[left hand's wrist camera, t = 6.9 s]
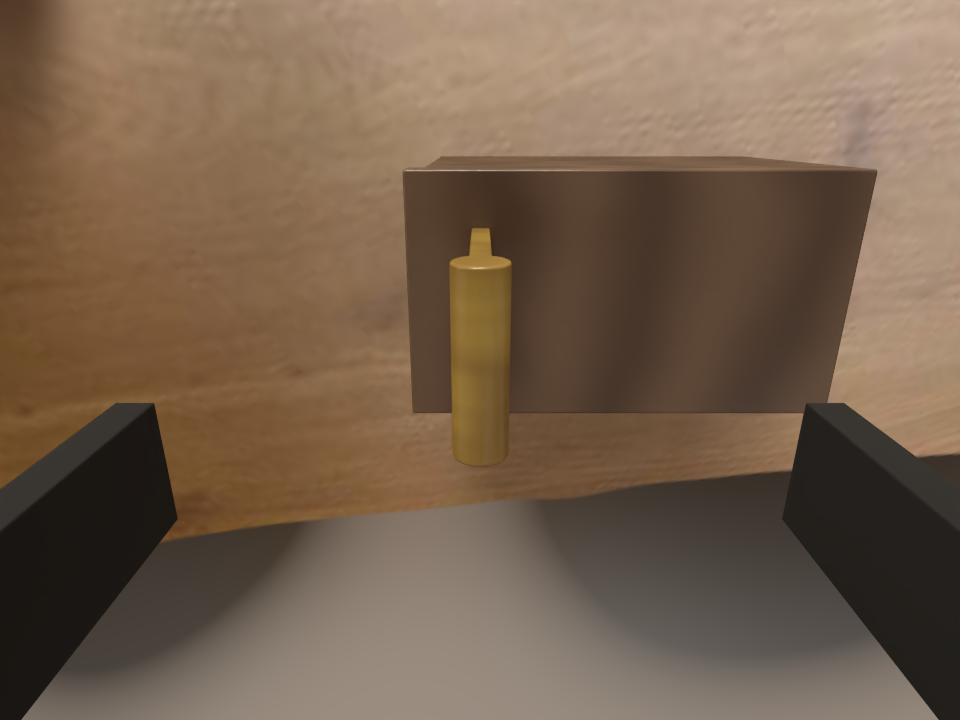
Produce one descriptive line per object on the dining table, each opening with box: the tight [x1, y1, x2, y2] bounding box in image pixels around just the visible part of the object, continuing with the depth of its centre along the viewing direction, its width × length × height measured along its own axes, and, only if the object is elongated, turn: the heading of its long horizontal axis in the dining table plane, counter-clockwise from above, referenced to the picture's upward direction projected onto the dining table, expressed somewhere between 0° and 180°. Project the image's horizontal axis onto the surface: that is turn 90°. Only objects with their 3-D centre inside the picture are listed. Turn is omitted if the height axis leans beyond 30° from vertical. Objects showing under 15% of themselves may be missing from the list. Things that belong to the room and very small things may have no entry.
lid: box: [403, 168, 877, 467], centre depth 21 cm, size 18×10×9 cm, turn 90°
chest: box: [425, 157, 855, 168], centre depth 31 cm, size 17×10×11 cm, turn 90°
